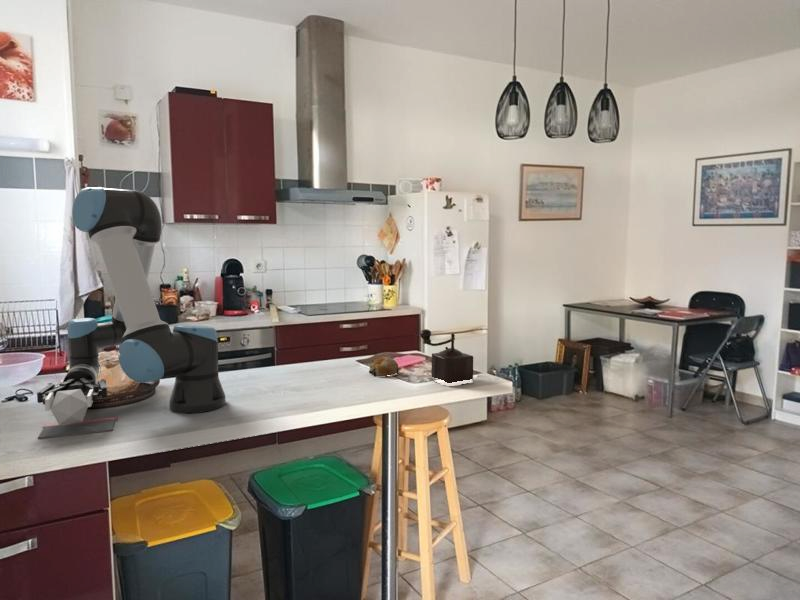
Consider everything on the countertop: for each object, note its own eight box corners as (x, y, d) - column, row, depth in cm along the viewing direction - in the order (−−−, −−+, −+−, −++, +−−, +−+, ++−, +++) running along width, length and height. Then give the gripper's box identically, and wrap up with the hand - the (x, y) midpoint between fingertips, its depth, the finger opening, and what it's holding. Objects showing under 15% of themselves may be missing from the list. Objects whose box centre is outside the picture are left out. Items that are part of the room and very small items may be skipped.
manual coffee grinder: (454, 376, 202) (454, 325, 200) (473, 383, 193) (475, 330, 191) (416, 382, 194) (417, 329, 192) (435, 389, 185) (436, 333, 183)
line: (117, 417, 155) (117, 416, 155) (117, 419, 153) (117, 419, 153) (44, 425, 148) (44, 424, 148) (42, 427, 146) (42, 426, 146)
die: (91, 416, 150) (67, 387, 149) (102, 407, 144) (77, 376, 143) (62, 436, 144) (36, 406, 143) (73, 427, 138) (46, 395, 137)
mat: (114, 421, 152) (114, 419, 152) (112, 430, 144) (112, 429, 144) (44, 428, 146) (44, 427, 146) (37, 439, 138) (37, 437, 138)
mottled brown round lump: (392, 388, 200) (403, 367, 199) (365, 375, 200) (375, 354, 199) (393, 381, 210) (403, 361, 209) (367, 368, 210) (377, 349, 209)
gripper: (122, 390, 164) (117, 413, 143) (37, 397, 156) (18, 423, 135) (121, 364, 163) (115, 384, 142) (35, 370, 155) (15, 392, 135)
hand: (68, 403), depth 139 cm, fingers closed on die, 8 cm apart
